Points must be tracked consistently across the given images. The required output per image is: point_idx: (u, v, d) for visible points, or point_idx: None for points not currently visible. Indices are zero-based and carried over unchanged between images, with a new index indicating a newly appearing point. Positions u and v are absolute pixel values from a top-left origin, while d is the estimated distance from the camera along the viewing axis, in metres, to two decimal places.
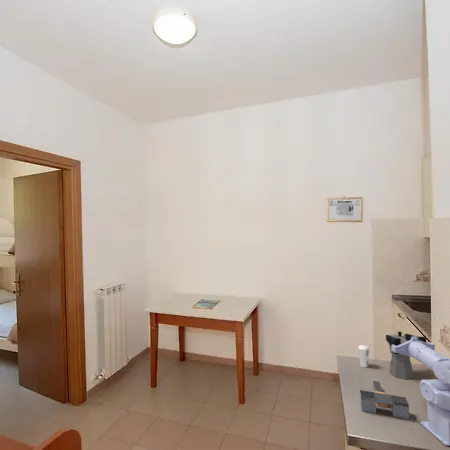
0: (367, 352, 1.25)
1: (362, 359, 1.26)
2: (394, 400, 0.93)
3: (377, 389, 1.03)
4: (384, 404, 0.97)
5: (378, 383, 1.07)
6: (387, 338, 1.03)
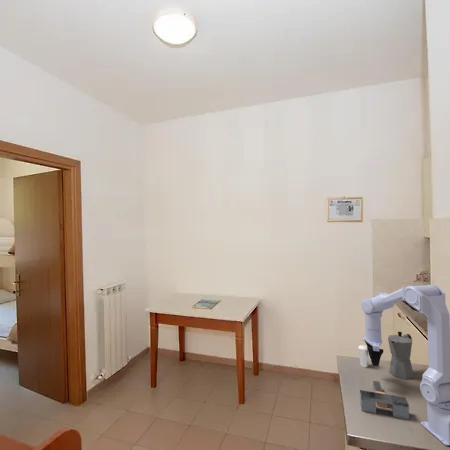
0: (367, 352, 1.25)
1: (362, 359, 1.26)
2: (394, 400, 0.93)
3: (377, 389, 1.03)
4: (384, 404, 0.97)
5: (378, 383, 1.07)
6: (374, 362, 1.10)
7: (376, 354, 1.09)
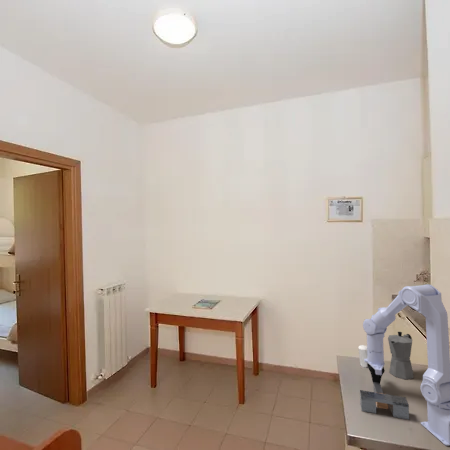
0: None
1: (362, 359, 1.26)
2: (394, 400, 0.93)
3: (378, 390, 1.02)
4: (385, 406, 0.96)
5: (378, 384, 1.06)
6: None
7: None
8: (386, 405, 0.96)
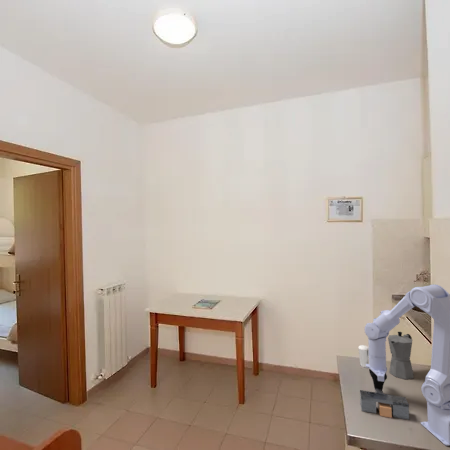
0: (367, 352, 1.25)
1: (362, 359, 1.26)
2: (394, 400, 0.93)
3: None
4: (388, 414, 0.92)
5: (381, 391, 1.02)
6: (378, 388, 1.04)
7: None
8: (389, 414, 0.92)
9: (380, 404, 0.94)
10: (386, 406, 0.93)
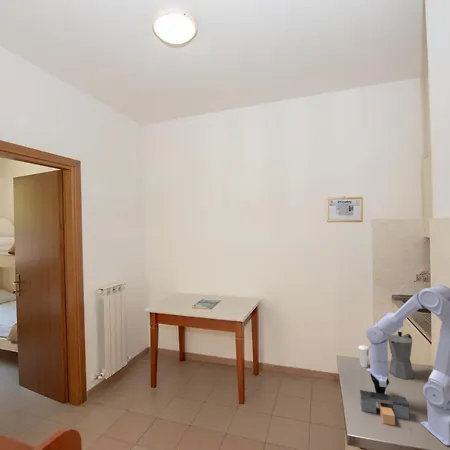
0: (367, 352, 1.25)
1: (362, 359, 1.26)
2: (394, 400, 0.93)
3: (382, 404, 0.94)
4: (391, 422, 0.88)
5: None
6: None
7: None
8: (393, 421, 0.88)
9: (383, 411, 0.90)
10: (389, 413, 0.89)
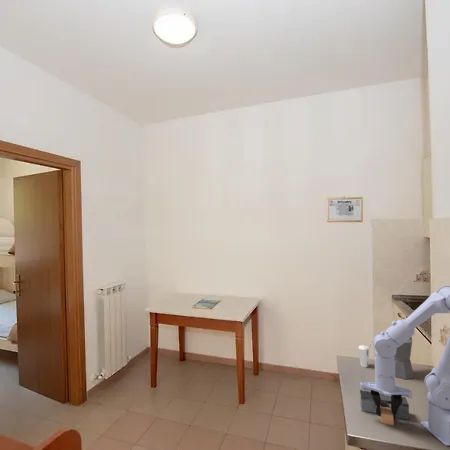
0: (367, 352, 1.25)
1: (362, 359, 1.26)
2: None
3: (382, 404, 0.94)
4: (390, 421, 0.88)
5: None
6: None
7: None
8: (391, 421, 0.88)
9: (381, 411, 0.91)
10: (387, 413, 0.90)
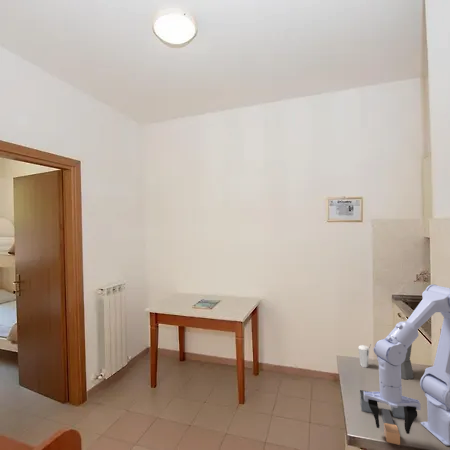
0: (367, 352, 1.25)
1: (362, 359, 1.26)
2: None
3: (387, 420, 0.86)
4: (396, 441, 0.81)
5: (388, 412, 0.90)
6: None
7: None
8: (398, 440, 0.80)
9: (387, 428, 0.83)
10: (393, 430, 0.82)
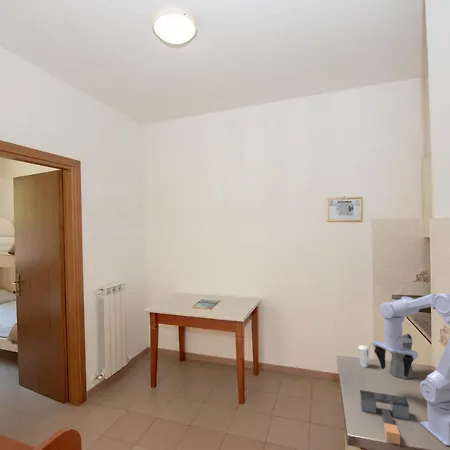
0: (367, 352, 1.25)
1: (362, 359, 1.26)
2: (394, 400, 0.93)
3: (387, 420, 0.86)
4: (396, 441, 0.81)
5: (388, 412, 0.90)
6: (407, 372, 1.00)
7: None
8: (398, 440, 0.80)
9: (387, 428, 0.83)
10: (393, 431, 0.82)
